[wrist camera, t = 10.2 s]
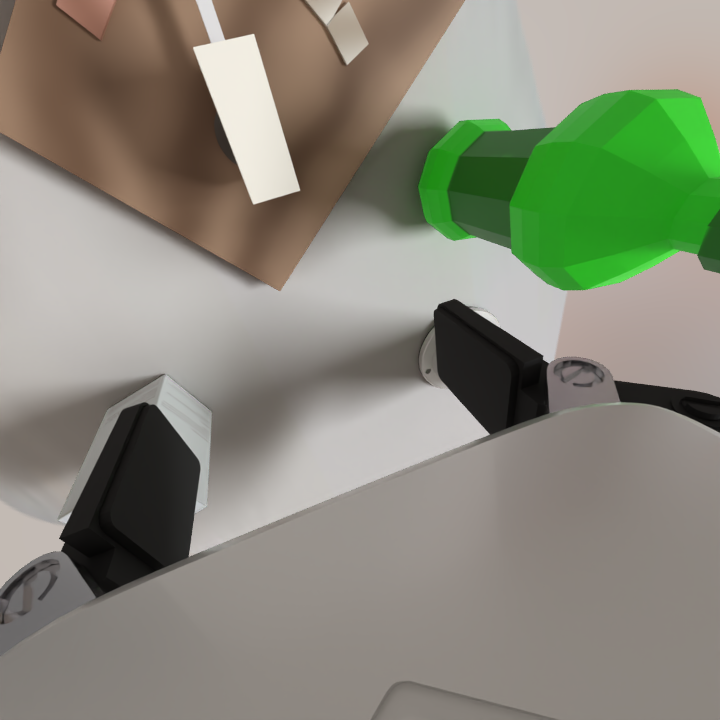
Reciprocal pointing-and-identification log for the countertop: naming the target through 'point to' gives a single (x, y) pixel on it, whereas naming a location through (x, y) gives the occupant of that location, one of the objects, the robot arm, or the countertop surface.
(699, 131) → the plastic bottle
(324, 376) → the countertop surface
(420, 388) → the countertop surface
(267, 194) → the white piece
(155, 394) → the supplement box
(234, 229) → the tuner board
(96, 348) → the countertop surface
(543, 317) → the countertop surface
